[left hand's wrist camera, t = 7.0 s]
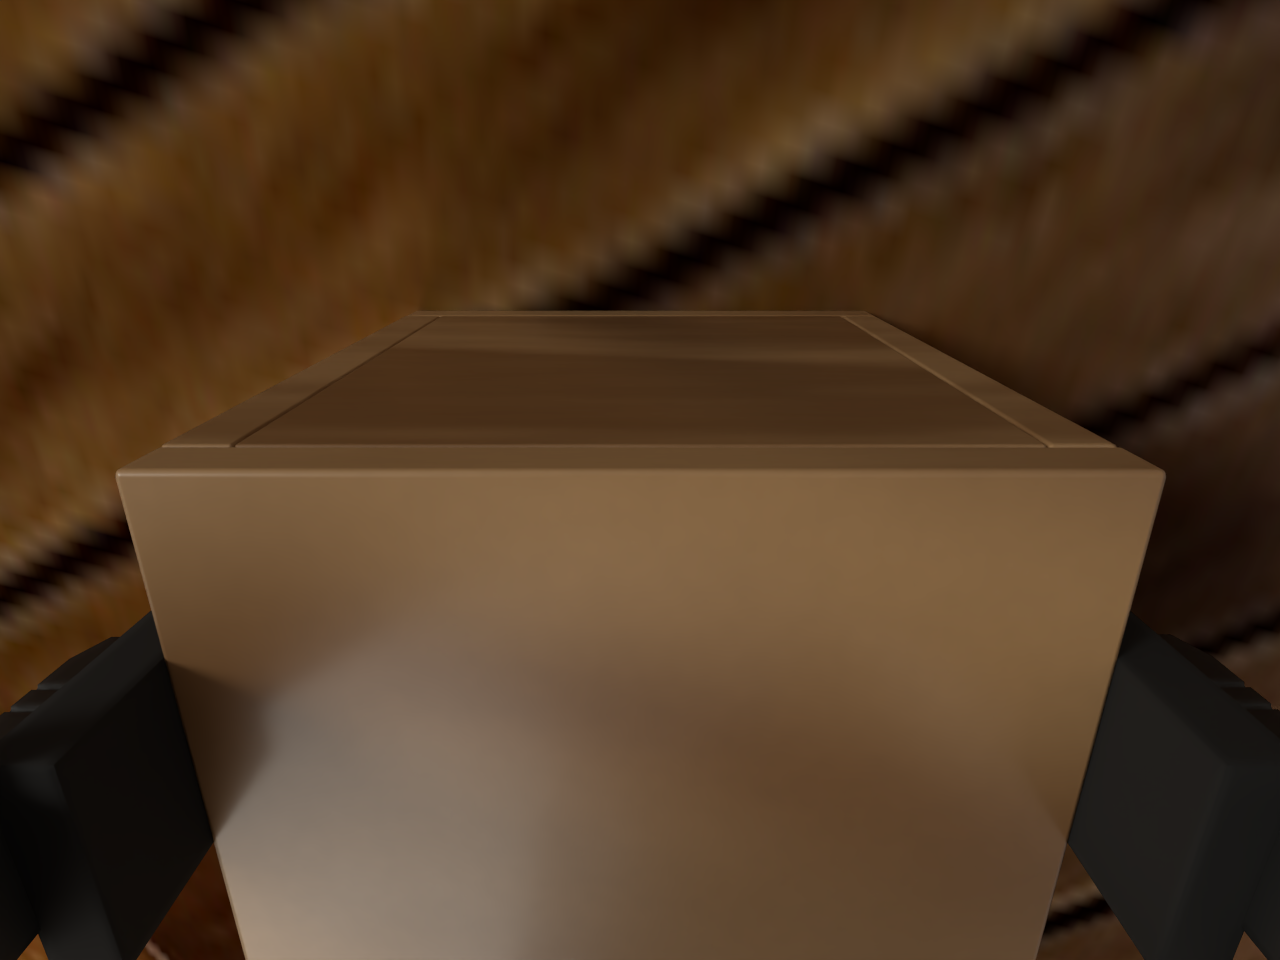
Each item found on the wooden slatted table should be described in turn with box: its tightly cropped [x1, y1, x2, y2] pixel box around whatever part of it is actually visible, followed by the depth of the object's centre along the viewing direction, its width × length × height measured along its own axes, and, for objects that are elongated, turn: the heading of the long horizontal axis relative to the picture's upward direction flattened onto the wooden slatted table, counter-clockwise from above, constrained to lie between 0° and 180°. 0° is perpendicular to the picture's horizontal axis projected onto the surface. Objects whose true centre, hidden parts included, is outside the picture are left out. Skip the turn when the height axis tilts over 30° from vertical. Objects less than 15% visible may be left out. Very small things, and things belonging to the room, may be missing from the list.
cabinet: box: [116, 311, 1166, 960], centre depth 16 cm, size 20×11×11 cm, turn 0°
